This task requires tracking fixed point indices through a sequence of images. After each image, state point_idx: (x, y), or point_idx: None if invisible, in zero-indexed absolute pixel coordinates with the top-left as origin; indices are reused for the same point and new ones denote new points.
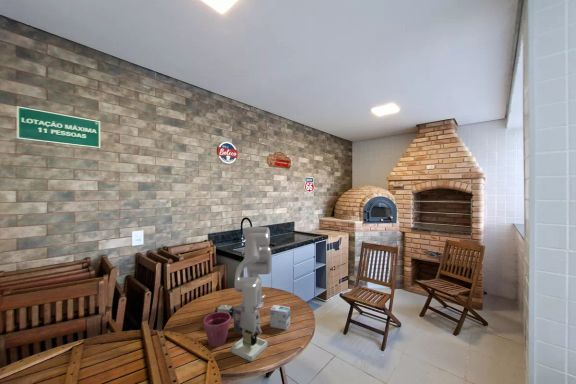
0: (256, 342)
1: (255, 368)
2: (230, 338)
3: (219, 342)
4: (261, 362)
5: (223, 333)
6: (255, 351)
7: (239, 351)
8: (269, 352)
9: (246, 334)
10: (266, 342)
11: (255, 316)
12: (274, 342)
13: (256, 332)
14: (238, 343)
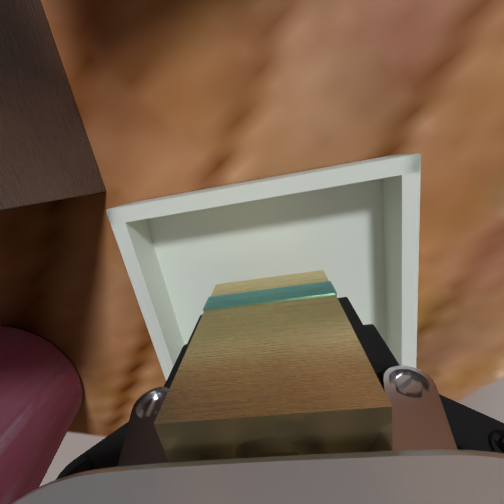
0: (324, 273)
1: (461, 397)
2: (40, 303)
3: (65, 429)
4: (468, 340)
5: (11, 500)
6: (351, 301)
7: None
8: (463, 215)
9: None
10: (417, 183)
11: None
12: (420, 42)
13: (439, 440)
14: (174, 353)
